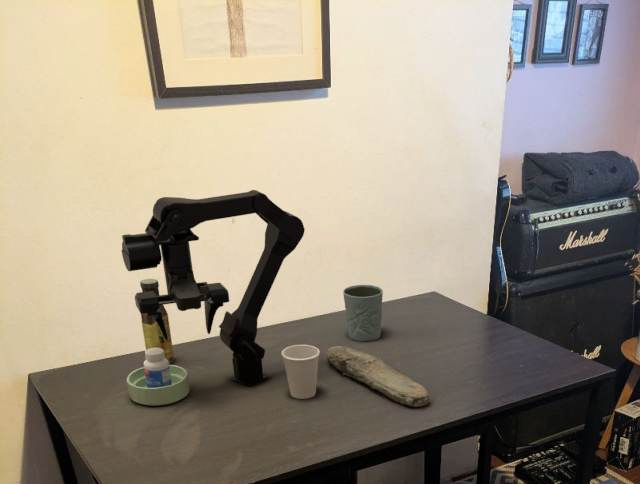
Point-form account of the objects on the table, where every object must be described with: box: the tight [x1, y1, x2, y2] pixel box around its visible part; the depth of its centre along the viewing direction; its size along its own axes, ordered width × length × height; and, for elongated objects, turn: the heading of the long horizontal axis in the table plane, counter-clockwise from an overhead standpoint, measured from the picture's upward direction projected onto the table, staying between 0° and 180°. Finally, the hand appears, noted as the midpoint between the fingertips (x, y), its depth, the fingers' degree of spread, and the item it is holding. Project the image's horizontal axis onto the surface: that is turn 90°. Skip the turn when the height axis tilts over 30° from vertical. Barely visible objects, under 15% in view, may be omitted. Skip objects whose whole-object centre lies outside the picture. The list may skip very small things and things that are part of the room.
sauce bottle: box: [139, 278, 174, 365], centre depth 182 cm, size 7×6×20 cm
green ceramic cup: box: [342, 284, 384, 342], centre depth 200 cm, size 10×10×12 cm
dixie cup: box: [281, 344, 321, 400], centre depth 171 cm, size 8×8×10 cm
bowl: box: [126, 364, 191, 407], centre depth 172 cm, size 13×13×4 cm
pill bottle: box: [143, 348, 172, 388], centre depth 170 cm, size 6×5×10 cm
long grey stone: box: [325, 345, 430, 408], centre depth 178 cm, size 35×5×10 cm
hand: (187, 336), depth 167 cm, fingers open, 9 cm apart
